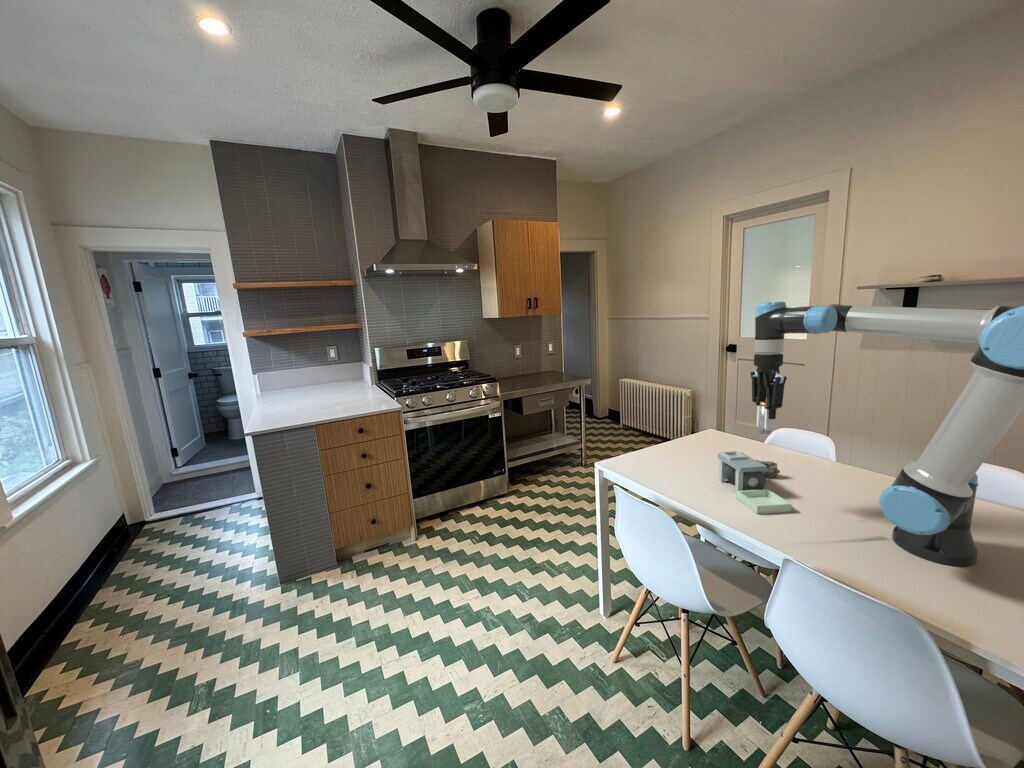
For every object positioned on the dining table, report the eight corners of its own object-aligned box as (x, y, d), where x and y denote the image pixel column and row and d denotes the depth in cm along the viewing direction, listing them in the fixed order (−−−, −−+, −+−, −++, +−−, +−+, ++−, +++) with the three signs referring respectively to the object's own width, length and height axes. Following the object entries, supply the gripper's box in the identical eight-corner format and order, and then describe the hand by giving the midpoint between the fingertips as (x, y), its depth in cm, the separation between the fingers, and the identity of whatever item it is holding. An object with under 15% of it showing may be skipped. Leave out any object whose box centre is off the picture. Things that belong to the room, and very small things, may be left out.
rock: (745, 456, 146) (744, 463, 154) (744, 471, 144) (744, 478, 152) (781, 460, 140) (778, 467, 148) (781, 476, 138) (778, 483, 146)
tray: (791, 512, 120) (791, 504, 120) (756, 514, 120) (757, 506, 120) (767, 496, 131) (768, 489, 131) (736, 498, 131) (736, 491, 130)
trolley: (768, 495, 132) (770, 463, 130) (739, 497, 131) (740, 465, 130) (742, 478, 145) (744, 449, 144) (716, 480, 145) (717, 451, 143)
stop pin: (774, 434, 121) (775, 402, 119) (763, 434, 121) (764, 403, 119) (766, 431, 124) (768, 400, 123) (756, 431, 124) (757, 401, 123)
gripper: (800, 354, 111) (796, 433, 114) (763, 350, 126) (760, 420, 130) (774, 356, 111) (770, 435, 114) (740, 351, 126) (738, 421, 130)
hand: (765, 426), depth 122 cm, fingers closed on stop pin, 3 cm apart
